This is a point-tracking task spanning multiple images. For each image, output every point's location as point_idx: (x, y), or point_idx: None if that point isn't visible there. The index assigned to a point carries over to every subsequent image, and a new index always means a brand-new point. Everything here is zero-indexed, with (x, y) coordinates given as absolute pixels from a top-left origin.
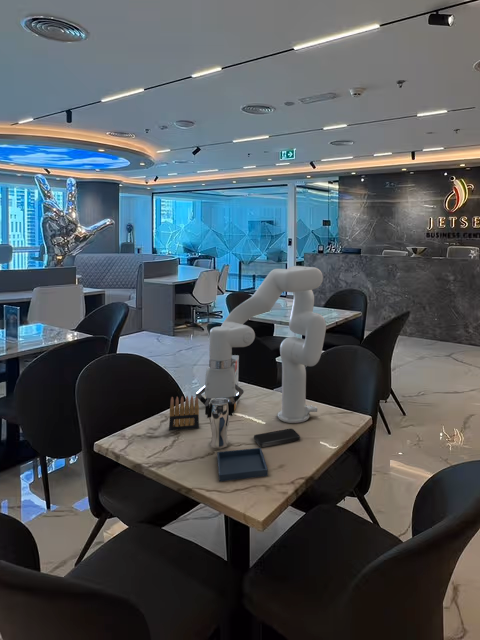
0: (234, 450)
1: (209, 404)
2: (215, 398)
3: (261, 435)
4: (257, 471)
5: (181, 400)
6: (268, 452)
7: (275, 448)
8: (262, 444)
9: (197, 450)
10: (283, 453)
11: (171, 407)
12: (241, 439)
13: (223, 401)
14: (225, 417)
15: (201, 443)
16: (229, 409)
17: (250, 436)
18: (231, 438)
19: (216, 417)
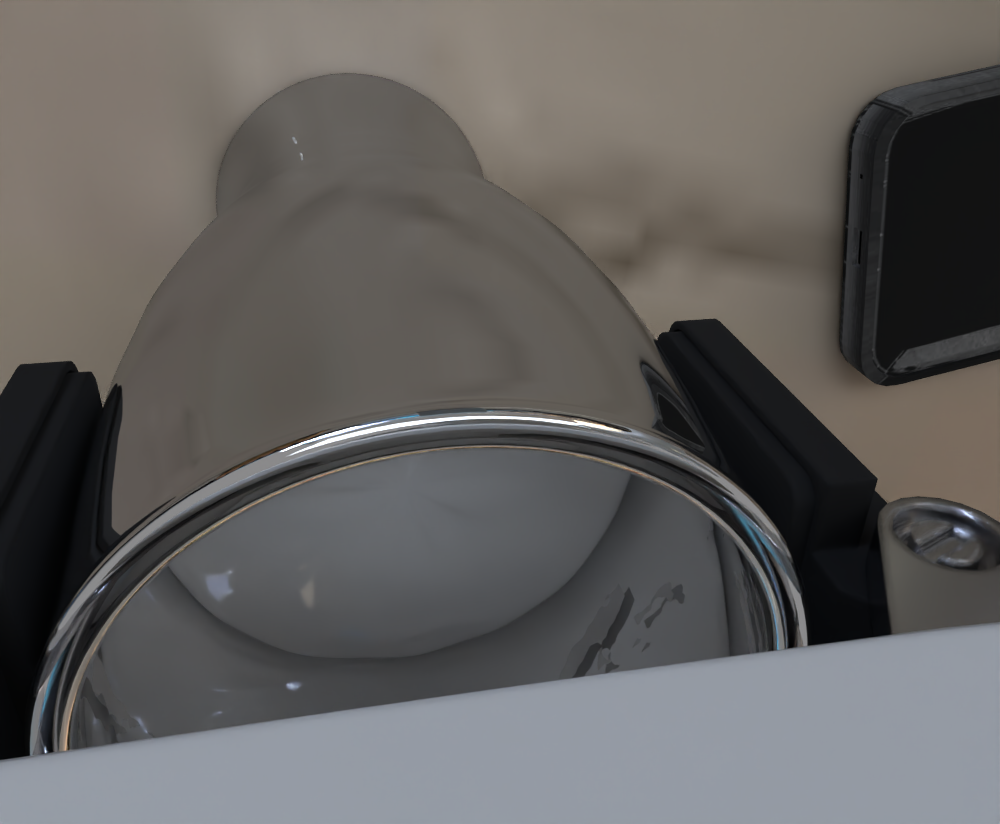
0: None
1: (26, 662)
2: (239, 493)
3: (976, 131)
4: None
5: None
6: (877, 466)
7: (976, 396)
8: (883, 381)
9: (41, 328)
10: (993, 496)
11: None
12: (689, 87)
13: (591, 369)
14: (523, 616)
15: (54, 107)
16: (675, 607)
17: (838, 7)
18: (551, 16)
19: (321, 668)
